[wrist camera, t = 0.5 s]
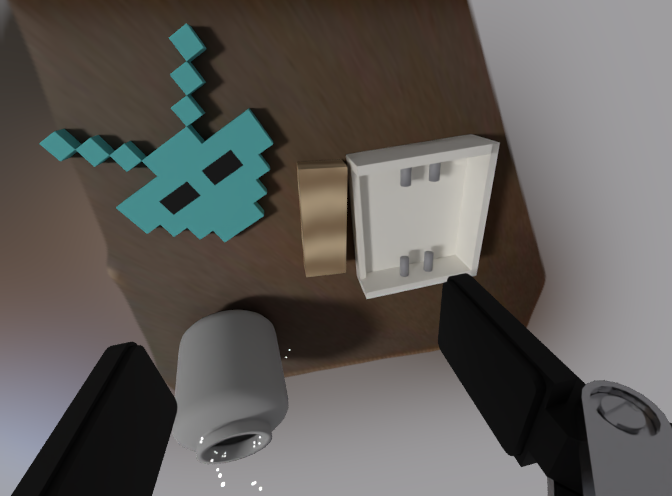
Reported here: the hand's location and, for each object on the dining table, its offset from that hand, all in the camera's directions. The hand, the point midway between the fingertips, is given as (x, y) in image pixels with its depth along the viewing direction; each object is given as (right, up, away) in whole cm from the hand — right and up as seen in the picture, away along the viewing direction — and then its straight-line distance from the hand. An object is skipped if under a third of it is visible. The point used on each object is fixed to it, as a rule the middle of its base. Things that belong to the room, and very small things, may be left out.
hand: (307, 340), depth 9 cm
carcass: (+12, +9, +36) cm, 39 cm away
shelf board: (-1, +8, +34) cm, 35 cm away
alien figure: (-17, +14, +27) cm, 35 cm away
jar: (-16, -12, +42) cm, 47 cm away
